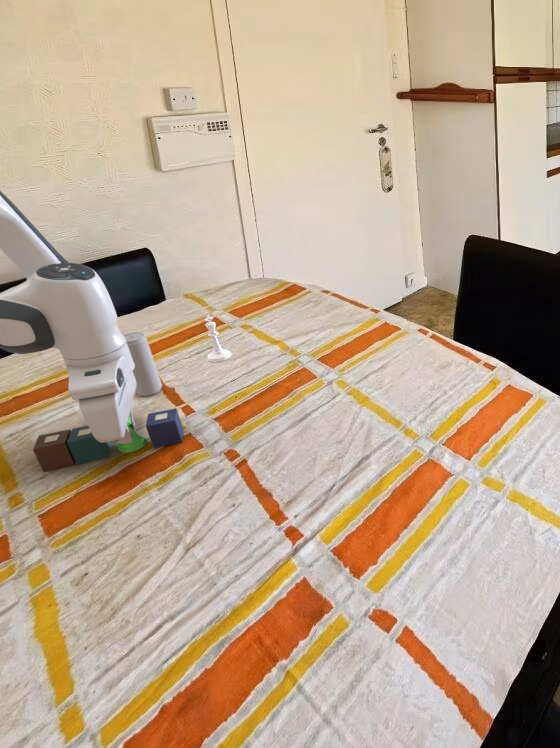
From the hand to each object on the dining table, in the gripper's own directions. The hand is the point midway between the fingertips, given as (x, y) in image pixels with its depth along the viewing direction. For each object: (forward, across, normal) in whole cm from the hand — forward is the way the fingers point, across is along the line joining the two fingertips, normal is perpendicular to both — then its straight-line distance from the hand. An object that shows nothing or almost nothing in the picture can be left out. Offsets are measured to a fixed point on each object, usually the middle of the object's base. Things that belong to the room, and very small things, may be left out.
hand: (128, 435), depth 107 cm
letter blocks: (+2, 0, -3) cm, 4 cm away
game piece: (+2, 0, 0) cm, 2 cm away
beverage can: (+2, -21, +1) cm, 21 cm away
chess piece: (+2, -32, +14) cm, 35 cm away
